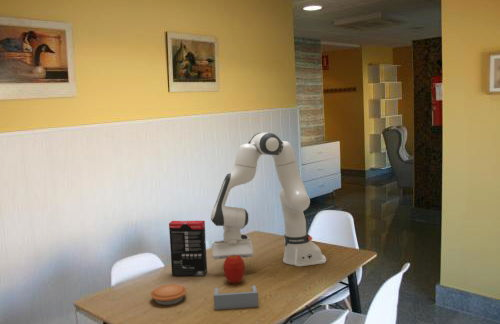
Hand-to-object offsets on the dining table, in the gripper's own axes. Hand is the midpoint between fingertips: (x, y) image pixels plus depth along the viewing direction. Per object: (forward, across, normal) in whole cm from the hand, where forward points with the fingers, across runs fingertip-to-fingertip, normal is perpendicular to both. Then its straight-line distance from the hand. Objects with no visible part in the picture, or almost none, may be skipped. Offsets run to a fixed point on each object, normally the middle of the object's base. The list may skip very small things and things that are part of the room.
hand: (233, 265), depth 224 cm
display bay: (+23, 0, -14) cm, 27 cm away
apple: (+9, 0, 0) cm, 9 cm away
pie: (+19, -29, -10) cm, 36 cm away
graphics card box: (-1, -22, +10) cm, 24 cm away
